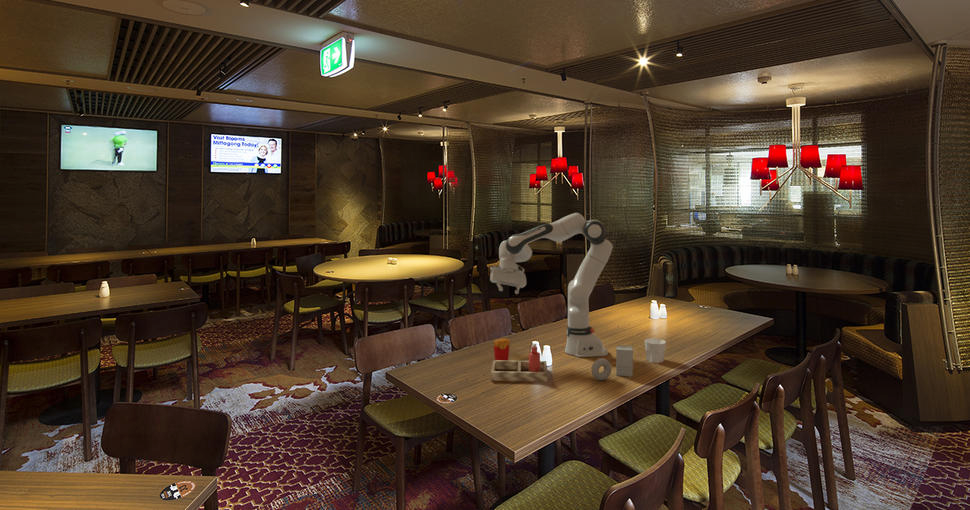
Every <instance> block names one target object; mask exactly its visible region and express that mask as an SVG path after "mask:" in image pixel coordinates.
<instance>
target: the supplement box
mask: <svg viewBox="0 0 970 510" xmlns="http://www.w3.org/2000/svg"><path fill="white" fill-rule="evenodd" d="M615 349H616V350H615V352H616V356H615V358H616V359H615V361H616V363H615V365H616V366H615V367H616V368H615V370H616V371H615V374H616V376H620V377H621V376H622V377H630V378H632V377H633V372H634V362H633V361H634V348H633V345H622V344H621V345H620V344H617V345H616V348H615Z"/></svg>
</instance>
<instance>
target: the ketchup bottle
mask: <svg viewBox="0 0 970 510" xmlns="http://www.w3.org/2000/svg"><path fill="white" fill-rule="evenodd" d="M528 361H529V370H528V372H541V370H540V361H541V353H540V352H539V351H538V346H537V343H532V346H531V352H529V353H528Z"/></svg>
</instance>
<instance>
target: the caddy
mask: <svg viewBox="0 0 970 510" xmlns="http://www.w3.org/2000/svg"><path fill="white" fill-rule="evenodd" d="M491 364H492V365H491V370H490V381H493V382H494V381H497V382H502V381H503V382H540V383H541V382H543V383H546V382H548V381H549V380H548V374H549V373H548V365H547V361H546V360H540V372H529V360H510V359H508V360H495V359H494V360H492V363H491ZM496 370H497V371H496ZM498 370H500V371H498ZM501 370H503V371H501ZM504 370H510V371H504ZM511 370H517V371H511ZM523 370H525V371H523ZM526 370H528V371H526Z"/></svg>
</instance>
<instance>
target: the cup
mask: <svg viewBox="0 0 970 510" xmlns="http://www.w3.org/2000/svg"><path fill="white" fill-rule="evenodd" d="M666 343H667V342H666V341H665V340H664V339H662V338H661V339H660V338H654V337H653V338H652V337H651V338H646V339H644V346H645V347H644V348H645V359H646V360H645V361H647V362H650V363H655V364H659V363H663V362H664V356H665V349H666Z"/></svg>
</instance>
